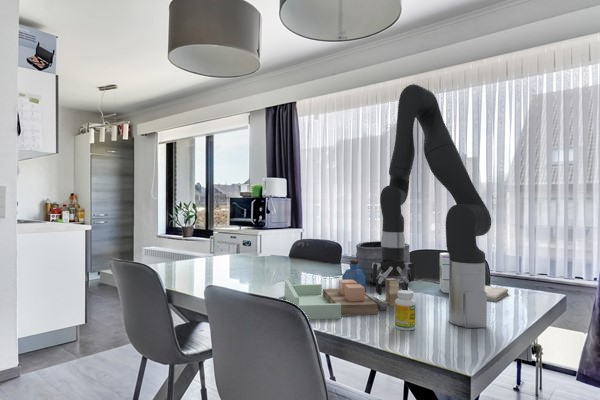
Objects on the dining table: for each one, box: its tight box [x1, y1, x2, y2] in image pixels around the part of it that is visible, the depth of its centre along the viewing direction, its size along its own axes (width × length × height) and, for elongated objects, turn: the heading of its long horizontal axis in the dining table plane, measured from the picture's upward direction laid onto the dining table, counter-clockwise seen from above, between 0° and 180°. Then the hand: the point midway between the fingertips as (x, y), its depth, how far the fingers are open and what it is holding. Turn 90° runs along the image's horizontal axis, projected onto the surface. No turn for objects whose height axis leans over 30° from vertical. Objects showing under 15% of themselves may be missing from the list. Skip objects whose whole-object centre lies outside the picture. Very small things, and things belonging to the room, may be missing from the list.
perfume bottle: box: [341, 259, 367, 293], centre depth 143 cm, size 6×6×12 cm
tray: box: [283, 279, 342, 320], centre depth 124 cm, size 28×13×6 cm, turn 8°
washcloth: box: [485, 284, 509, 303], centre depth 143 cm, size 12×18×3 cm, turn 139°
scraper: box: [365, 279, 400, 312], centre depth 127 cm, size 16×8×8 cm, turn 8°
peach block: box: [345, 284, 365, 301], centre depth 122 cm, size 5×5×4 cm
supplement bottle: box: [394, 289, 417, 331], centre depth 103 cm, size 5×5×10 cm
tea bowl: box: [355, 240, 411, 286], centre depth 163 cm, size 25×22×17 cm
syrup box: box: [439, 252, 449, 294], centre depth 148 cm, size 6×6×14 cm
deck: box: [322, 288, 378, 316], centre depth 126 cm, size 22×12×3 cm, turn 8°
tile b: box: [338, 279, 357, 295], centre depth 130 cm, size 5×5×4 cm
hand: (391, 294), depth 128 cm, fingers open, 8 cm apart
